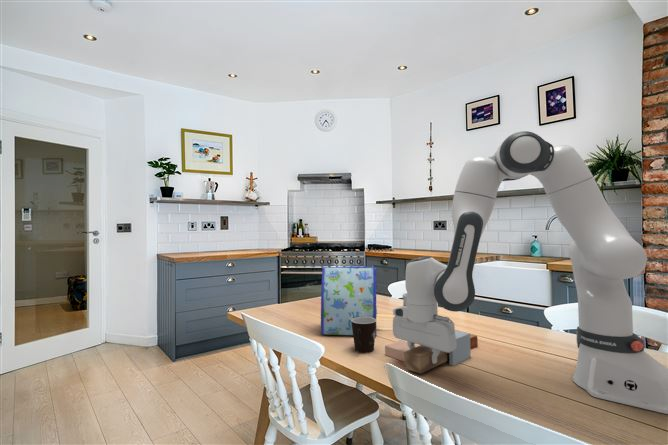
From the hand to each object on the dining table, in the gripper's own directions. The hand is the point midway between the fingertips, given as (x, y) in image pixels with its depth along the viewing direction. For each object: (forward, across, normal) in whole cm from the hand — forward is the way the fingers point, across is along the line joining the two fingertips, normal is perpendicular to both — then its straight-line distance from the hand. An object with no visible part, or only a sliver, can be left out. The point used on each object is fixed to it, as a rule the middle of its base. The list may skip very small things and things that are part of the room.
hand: (423, 359), depth 104 cm
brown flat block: (+4, +7, -25) cm, 27 cm away
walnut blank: (+2, 0, -2) cm, 2 cm away
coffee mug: (+3, +24, +3) cm, 24 cm away
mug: (+3, +38, -44) cm, 59 cm away
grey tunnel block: (+3, 0, -13) cm, 14 cm away
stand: (+3, +12, -4) cm, 13 cm away
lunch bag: (+3, +42, -9) cm, 44 cm away
